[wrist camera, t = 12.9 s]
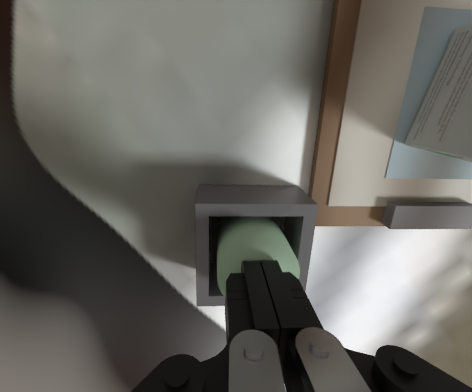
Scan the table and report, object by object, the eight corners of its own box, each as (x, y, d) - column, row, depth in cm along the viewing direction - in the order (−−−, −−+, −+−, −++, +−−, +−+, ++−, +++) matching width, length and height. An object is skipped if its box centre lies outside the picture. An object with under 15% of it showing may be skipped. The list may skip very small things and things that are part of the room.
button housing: (297, 186, 14) (318, 204, 11) (287, 269, 16) (303, 303, 13) (199, 184, 14) (194, 203, 11) (200, 270, 16) (196, 306, 13)
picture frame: (618, -23, 12) (664, -38, 11) (513, 222, 16) (538, 231, 15) (341, -49, 11) (357, -70, 10) (304, 222, 15) (312, 232, 14)
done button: (280, 204, 14) (304, 238, 10) (275, 259, 15) (294, 308, 11) (217, 204, 14) (217, 239, 10) (216, 260, 15) (216, 310, 11)
